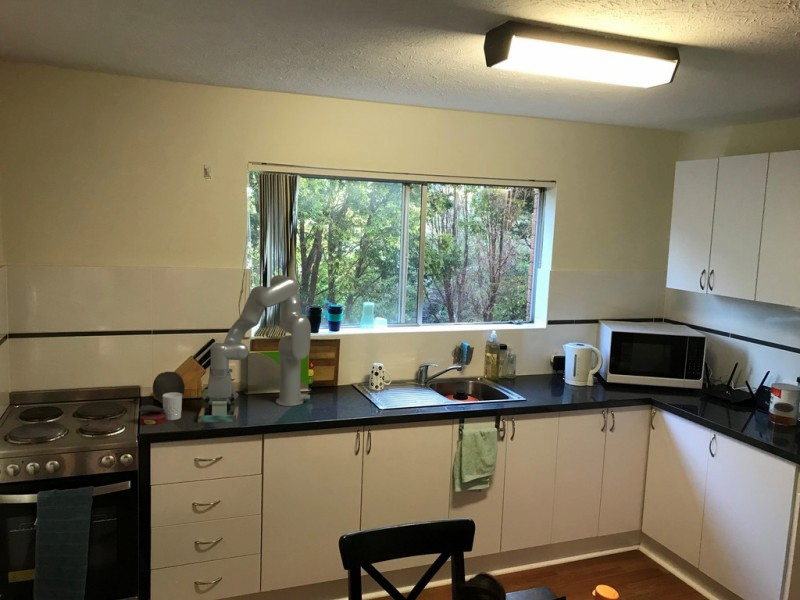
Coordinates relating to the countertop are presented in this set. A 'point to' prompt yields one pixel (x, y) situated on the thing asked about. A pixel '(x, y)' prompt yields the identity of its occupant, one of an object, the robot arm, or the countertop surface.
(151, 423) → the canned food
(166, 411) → the white cup
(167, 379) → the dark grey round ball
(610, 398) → the countertop surface
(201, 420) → the bay
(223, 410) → the crate
